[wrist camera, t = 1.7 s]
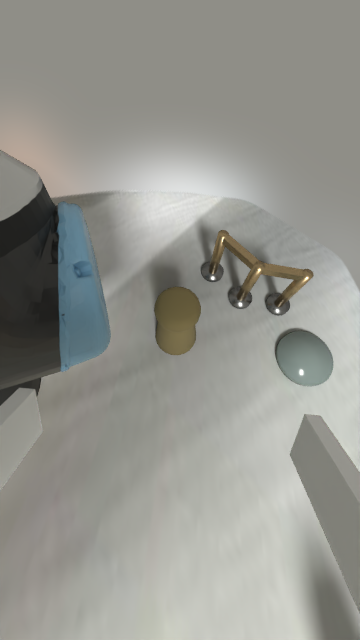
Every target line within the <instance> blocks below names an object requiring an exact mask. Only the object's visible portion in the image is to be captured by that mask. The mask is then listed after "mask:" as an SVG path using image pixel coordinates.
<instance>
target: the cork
mask: <svg viewBox="0 0 360 640" xmlns="http://www.w3.org/2000/svg"><path fill="white" fill-rule="evenodd" d="M154 312H155V316H156V319H157V321H158V325H157V329H156V341H157V344H158V345H159V347H160V348H161V349H162V350H163V351H164V352H166V353H168V354H171V355H180V354H184V353H186V352H187V351H189V350H190V349H191V348H192V346H193V345H194V343H195V340H196V330H195V324H196V323H197V322H198V319H199V317H200V314H201V306H200V303H199V300H198V298H197V296H196V295H195V294H194V293H193V292H192V291H190V290H189V289H186V288H183V287H172V288H168V289H167V290H165V291H163V292H162V293H161V294H160V295H159V296H158V298H157V300H156V303H155V308H154Z"/></svg>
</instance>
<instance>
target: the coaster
mask: <svg viewBox="0 0 360 640" xmlns="http://www.w3.org/2000/svg"><path fill="white" fill-rule="evenodd" d="M276 358H277V362H278V365H279V367H280V369H281V371H282V372H283V373H284V375H285V376H286V377H287V378H289V379H290V380H291V381H293V382H295V383H296V384H299V385H303V386H315V385H319V384H322V383H324V382H325V381H326V380H327V379H328V378H329V377H330V375H331V373H332V370H333V358H332V354H331V352H330V350H329V348H328V347H327V345H326V344H325V343H324V342H323V341H322V340H321V339H320V338H319V337H317V336H315V335H314V334H312V333H309V332H305V331H295V332H291V333H289V334H287V335H286V336H284V337H283V338H282V339H281V340H280V342H279V343H278V346H277V349H276Z"/></svg>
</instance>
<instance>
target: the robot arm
mask: <svg viewBox="0 0 360 640" xmlns="http://www.w3.org/2000/svg"><path fill="white" fill-rule="evenodd" d="M110 337H111V333H110V325H109V319H108V314H107V309H106V304H105V299H104V294H103V289H102V285H101V280H100V276H99V272H98V267H97V263H96V259H95V255H94V250H93V246H92V242H91V239H90V235H89V231H88V228H87V224H86V222H85V219H84V215H83V211H82V209H81V208H80V207H79V206H78V205H76V204H68V203H66V202H60V203H59V204H58V206H55V204H54V203H53V202H52V200H51V198H50V196H49V194H48V192H47V190H46V188H45V186H44V184H43V182H42V179H41V178H40V176H39V174H38V173H37V172H36V170H34V169H32V168H31V167H29V166H27V165H26V164H24V163H22V162H20V161H19V160H17V159H15V158H14V157H11V156H10V155H8V154H7V153H5V152H3V151H1V150H0V491H1V490H2V488H3V487H4V485H5V484H6V483H7V481H8V480H9V478H10V477H11V475H12V474H13V473H14V471H15V470H16V468H17V467H18V466H19V464H20V463H21V461H22V460H23V459H24V457H25V456H26V454H27V453H28V452H29V450H30V449H31V447H32V446H33V445H34V443H35V442H36V440H37V439H38V438H39V436H40V435H41V433H42V432H43V429H42V423H41V418H40V413H39V407H38V402H37V394H38V390H39V386H40V377H44V376H47V375H50V374H54V373H57V372H60V371H61V372H63V371H66V370H68V369H69V367H71V366H74V365H76V364H79V363H81V362H84V361H87V360H89V359H92V358H94V357H97V356H99V355H100V354H102V353H103V352H104V351H105V350H106V348H107V347H108V344H109V342H110ZM290 456H291V458H292V461H293V463H294V465H295V467H296V470H297V472H298V474H299V476H300V479H301V481H302V483H303V486H304V488H305V490H306V492H307V495H308V497H309V499H310V501H311V504H312V506H313V508H314V511H315V513H316V515H317V517H318V520H319V522H320V524H321V526H322V529H323V531H324V533H325V536H326V538H327V540H328V542H329V545H330V547H331V549H332V551H333V554H334V556H335V558H336V561H337V563H338V565H339V567H340V570H341V572H342V574H343V576H344V579H345V581H346V583H347V586H348V588H349V590H350V592H351V595H352V597H353V599H354V601H355V604H356V606H357V608H358V611H359V613H360V472H359V471H358V469H357V468H356V466H355V465H354V463H353V462H352V461H351V459H350V458H349V456H348V455H347V453H346V452H345V450H344V449H343V448H342V446H341V445H340V443H339V442H338V440H337V439H336V437H335V436H334V434H333V433H332V432H331V430H330V429H329V427H328V426H327V424H326V423H325V421H324V420H323V419H322V417H321V416H318V415H308V414H305V415H304V418H303V420H302V423H301V426H300V428H299V431H298V434H297V436H296V439H295V442H294V444H293V447H292V450H291V452H290Z"/></svg>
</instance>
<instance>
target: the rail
mask: <svg viewBox="0 0 360 640" xmlns="http://www.w3.org/2000/svg"><path fill="white" fill-rule="evenodd" d="M225 247H226V248H227V249H229V250H230V251H231V252H232V253H233V254H234V255H235V256H237V257H238V258H239V259H240V260H241V261H242V262H243V263H244V264H246V265H247V266H248V267H249V268H250V269H251V270H250V272H249V274H248V276H247V278H246V279H245V281H244V283H243V285H242V287H236V288H234V289H232V290H231V292H230V294H229V301H230V303H231V304H232V305H233V306H234V307H236V308H239V309H243V308H246V307H248V306H249V305H250V303H251V301H252V295H251V293H250V290H251V289H252V287H253V286H254V284H255V283H256V281H257V279H258V278H259V276H260V275H261V274H263V275H269V276H275V277H281V278H287V279H293V280H294V281H293V282H292V283H291V284H290V285H289V286H288V287H287V288H286V289H285V290H284V291H283V292H282V294H279V293H274V294H272V295H270V296H269V297H268V298H267V300H266V307H267V309H268V310H269V311H270V312H271V313H272V314H274V315H283V314H285V313H286V312H287V311H288V310H289V308H290V303H289V299H290V298H291V297H292V296H293V295H294V294H296V293H297V292H298V291H299V290H300V289H301V288H302V287H303V286H304V285H305V284H306V283H307V282H308V281H309V280H310V279H311V278H312V277H313V272H312V271H311V270H309V269H304V270H303V269H297V268H291V267H285V266H279V265H273V264H267V263H263V262H262V261H259V260H258V259H257V258H255V257H254V256H253V255H252V254H251V253H250V252H248V251H247V250H246V249H245V248H244V247H243V246H241V245H240V244H239V243H238V242H237V241H236V240H234V239H233V238H232V237H231V236H230V235H229V233H228V232H227V231H225V230H221V231H219V232H218V236H217V240H216V244H215V247H214V251H213V255H212V259H211V262H207V263H205V264H204V265H203V267H202V271H201V273H202V276H203V278H204V279H206V280H207V281H210V282H216V281H218V280H220V279H221V278H222V275H223V267H222V266H221V265H220V264H219V263H220V260H221V257H222V254H223V251H224V248H225Z"/></svg>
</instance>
